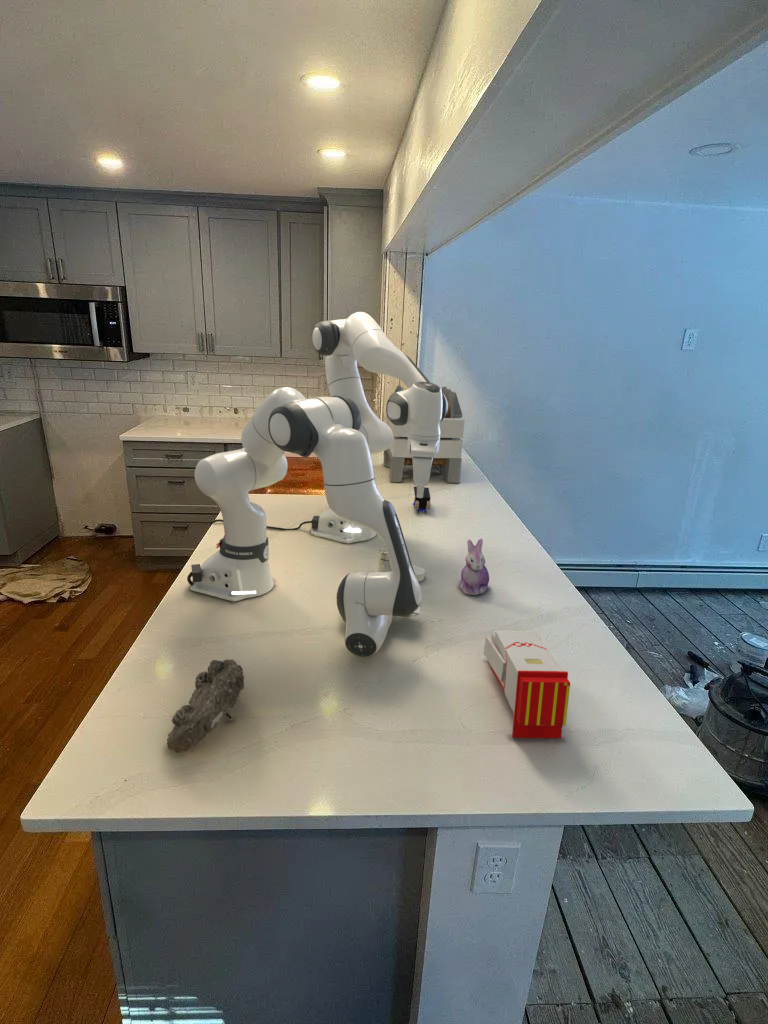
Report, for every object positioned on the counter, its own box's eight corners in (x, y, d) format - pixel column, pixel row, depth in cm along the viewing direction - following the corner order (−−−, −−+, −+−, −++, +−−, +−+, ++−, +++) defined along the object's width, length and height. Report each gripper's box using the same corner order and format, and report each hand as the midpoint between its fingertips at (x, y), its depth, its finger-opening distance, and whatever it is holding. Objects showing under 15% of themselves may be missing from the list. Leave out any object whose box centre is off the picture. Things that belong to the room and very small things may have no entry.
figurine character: (431, 519, 219) (427, 502, 232) (432, 501, 216) (429, 485, 229) (413, 518, 219) (411, 501, 232) (415, 500, 215) (412, 484, 229)
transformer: (382, 463, 289) (386, 382, 275) (445, 464, 293) (451, 384, 279) (390, 482, 257) (394, 392, 243) (460, 483, 261) (468, 394, 247)
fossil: (192, 660, 117) (244, 628, 112) (224, 691, 120) (276, 661, 115) (142, 746, 98) (202, 712, 93) (182, 779, 101) (242, 748, 96)
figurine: (471, 599, 156) (476, 549, 151) (450, 583, 165) (454, 536, 160) (498, 593, 160) (504, 544, 155) (476, 578, 169) (481, 531, 164)
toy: (532, 614, 131) (579, 678, 101) (527, 667, 134) (572, 745, 104) (479, 613, 130) (512, 677, 101) (476, 667, 133) (506, 744, 104)
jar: (392, 599, 154) (395, 545, 149) (396, 609, 150) (400, 553, 144) (374, 601, 153) (376, 546, 148) (378, 610, 149) (380, 554, 143)
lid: (415, 571, 172) (415, 564, 171) (428, 578, 167) (428, 571, 167) (399, 576, 168) (400, 569, 168) (412, 584, 164) (413, 576, 163)
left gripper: (419, 605, 135) (426, 580, 147) (336, 593, 138) (350, 570, 151) (417, 628, 137) (425, 601, 150) (335, 616, 140) (350, 591, 153)
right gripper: (412, 434, 164) (409, 480, 169) (410, 451, 145) (407, 502, 150) (434, 436, 164) (431, 482, 169) (435, 453, 145) (431, 504, 149)
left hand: (387, 585), depth 150 cm, fingers open, 8 cm apart
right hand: (420, 492), depth 159 cm, fingers open, 8 cm apart
